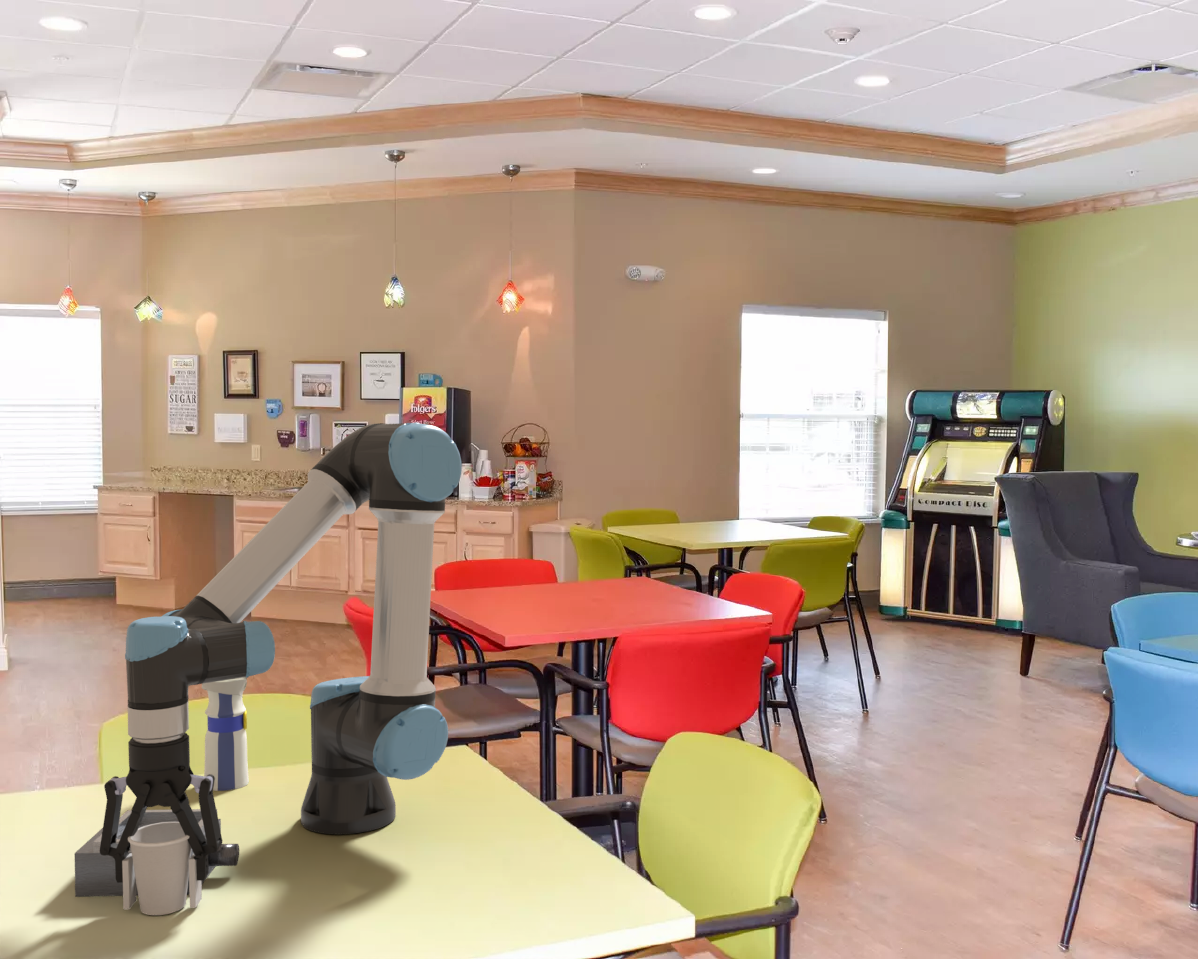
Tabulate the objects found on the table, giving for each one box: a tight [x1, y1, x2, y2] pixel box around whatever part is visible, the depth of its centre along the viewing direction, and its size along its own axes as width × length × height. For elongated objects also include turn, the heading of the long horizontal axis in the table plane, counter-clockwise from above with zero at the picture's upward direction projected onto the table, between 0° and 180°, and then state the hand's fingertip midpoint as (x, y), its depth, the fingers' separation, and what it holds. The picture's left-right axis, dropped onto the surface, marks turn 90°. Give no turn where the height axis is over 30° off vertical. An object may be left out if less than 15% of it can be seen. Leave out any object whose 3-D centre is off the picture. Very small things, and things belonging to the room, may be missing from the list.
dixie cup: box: [128, 822, 192, 916], centre depth 151 cm, size 8×8×10 cm
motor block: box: [74, 808, 240, 898], centre depth 162 cm, size 20×13×8 cm, turn 93°
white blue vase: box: [201, 677, 250, 792], centre depth 204 cm, size 8×9×25 cm
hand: (163, 903), depth 152 cm, fingers closed on dixie cup, 8 cm apart
